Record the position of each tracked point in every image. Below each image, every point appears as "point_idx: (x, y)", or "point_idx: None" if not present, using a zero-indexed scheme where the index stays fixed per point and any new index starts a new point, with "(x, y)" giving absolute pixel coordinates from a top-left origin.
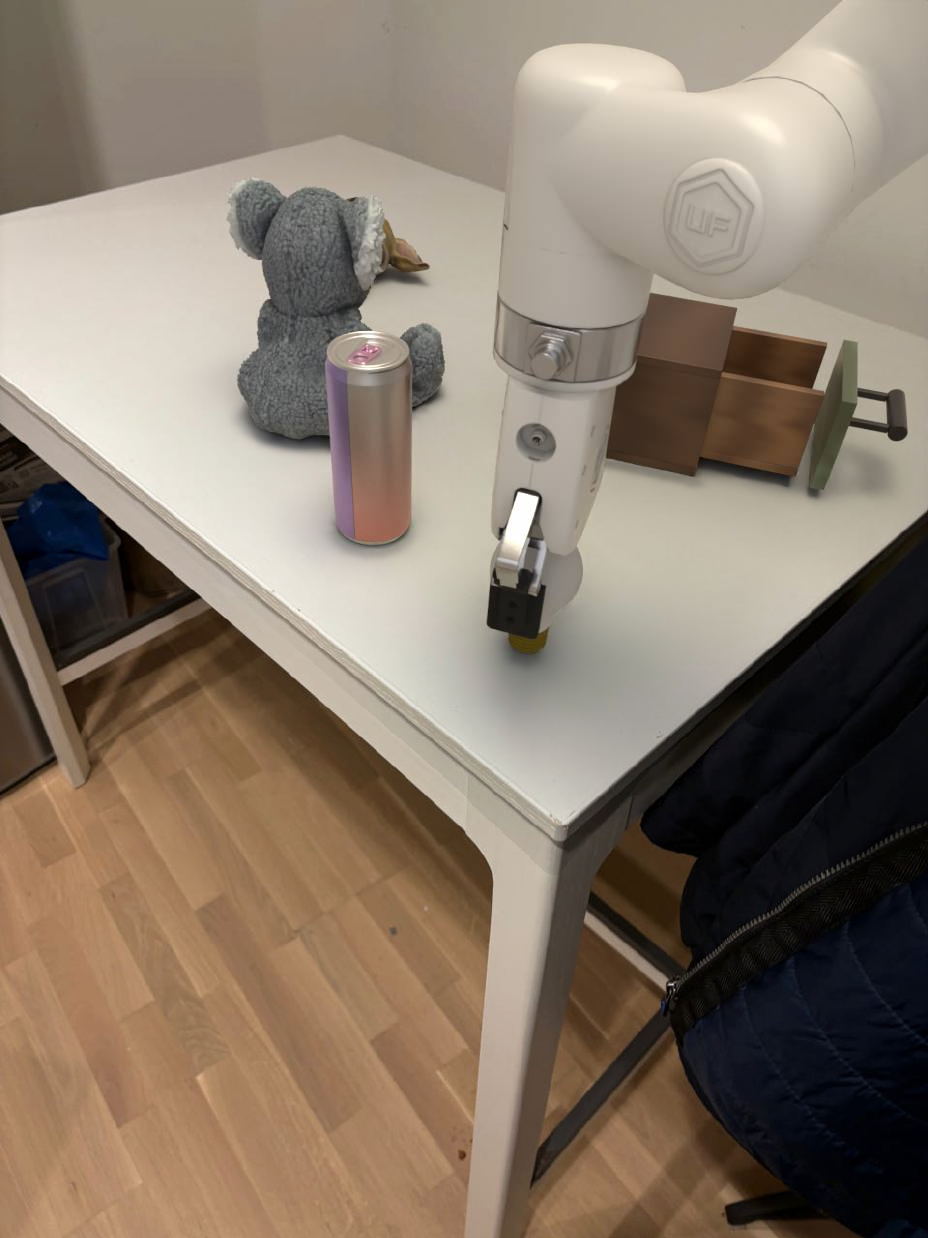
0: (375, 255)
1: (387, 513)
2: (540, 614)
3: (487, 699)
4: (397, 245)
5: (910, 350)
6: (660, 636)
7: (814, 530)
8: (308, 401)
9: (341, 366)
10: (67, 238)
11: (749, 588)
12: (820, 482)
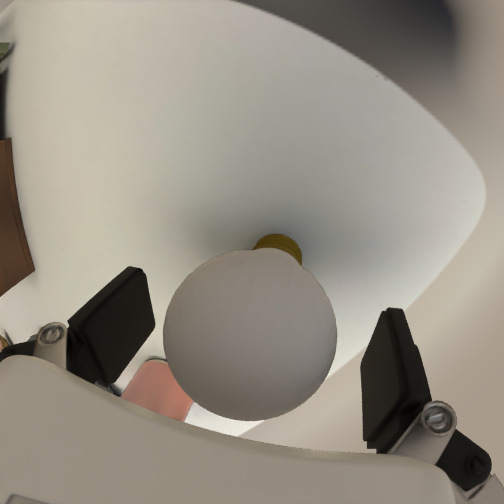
0: None
1: (173, 397)
2: (414, 346)
3: (368, 280)
4: (1, 350)
5: None
6: (203, 89)
7: (38, 27)
8: None
9: None
10: None
11: (103, 31)
12: (3, 46)
